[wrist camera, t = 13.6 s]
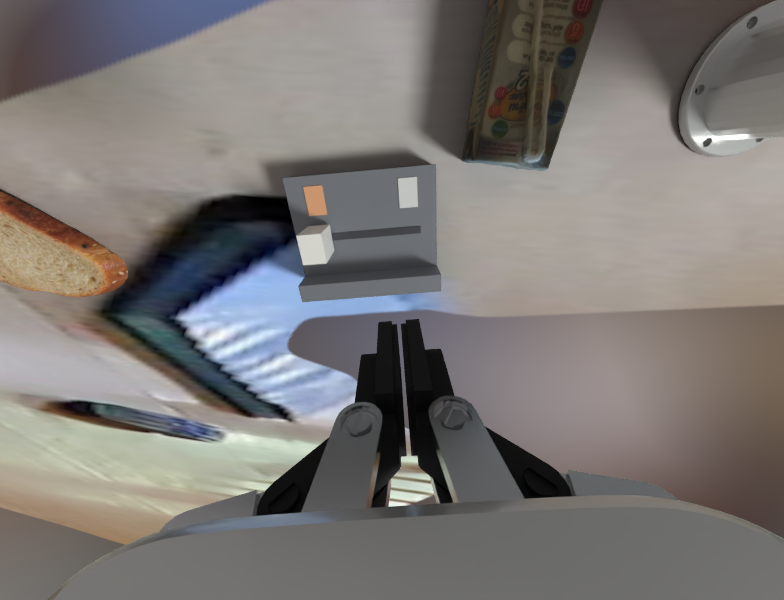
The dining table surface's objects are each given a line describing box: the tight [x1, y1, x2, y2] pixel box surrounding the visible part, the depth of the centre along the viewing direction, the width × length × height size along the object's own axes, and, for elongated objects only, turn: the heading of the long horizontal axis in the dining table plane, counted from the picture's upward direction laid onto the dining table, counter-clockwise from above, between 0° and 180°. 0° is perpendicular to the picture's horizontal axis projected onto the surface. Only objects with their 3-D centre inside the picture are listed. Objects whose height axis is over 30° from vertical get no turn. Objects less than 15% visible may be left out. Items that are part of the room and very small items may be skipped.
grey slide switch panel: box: [282, 164, 441, 302], centre depth 31 cm, size 16×13×6 cm
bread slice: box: [0, 191, 128, 297], centre depth 33 cm, size 18×18×4 cm
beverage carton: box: [462, 0, 603, 171], centre depth 24 cm, size 8×19×7 cm, turn 175°
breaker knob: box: [296, 224, 334, 265], centre depth 29 cm, size 2×3×4 cm
